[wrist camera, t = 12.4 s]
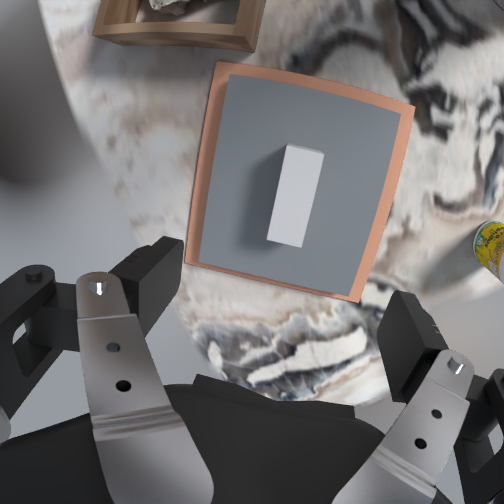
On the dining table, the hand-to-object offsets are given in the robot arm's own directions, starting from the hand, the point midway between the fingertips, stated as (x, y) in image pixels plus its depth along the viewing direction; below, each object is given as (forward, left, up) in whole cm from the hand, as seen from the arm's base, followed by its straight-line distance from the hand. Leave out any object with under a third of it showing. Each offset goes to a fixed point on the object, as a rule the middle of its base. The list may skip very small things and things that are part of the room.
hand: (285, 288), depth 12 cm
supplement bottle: (-24, 0, -22) cm, 32 cm away
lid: (0, 0, -20) cm, 20 cm away
